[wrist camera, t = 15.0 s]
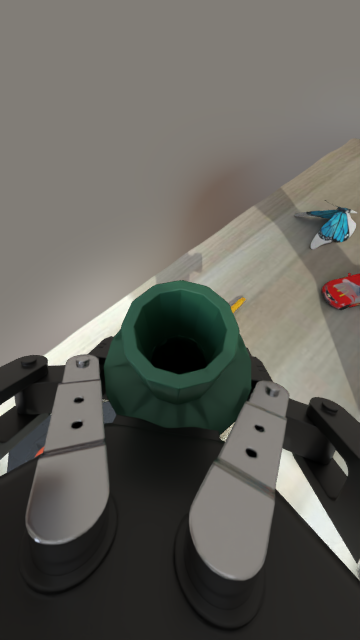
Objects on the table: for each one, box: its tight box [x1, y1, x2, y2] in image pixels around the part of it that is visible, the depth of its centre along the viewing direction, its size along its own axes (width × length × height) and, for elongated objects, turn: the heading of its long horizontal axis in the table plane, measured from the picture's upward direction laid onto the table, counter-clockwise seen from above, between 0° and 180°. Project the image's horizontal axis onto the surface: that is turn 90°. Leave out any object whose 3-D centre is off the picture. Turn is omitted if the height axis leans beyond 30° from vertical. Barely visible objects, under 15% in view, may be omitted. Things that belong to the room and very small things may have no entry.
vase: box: [104, 280, 251, 436], centre depth 13 cm, size 6×6×16 cm
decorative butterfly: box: [294, 200, 357, 249], centre depth 45 cm, size 10×6×10 cm
